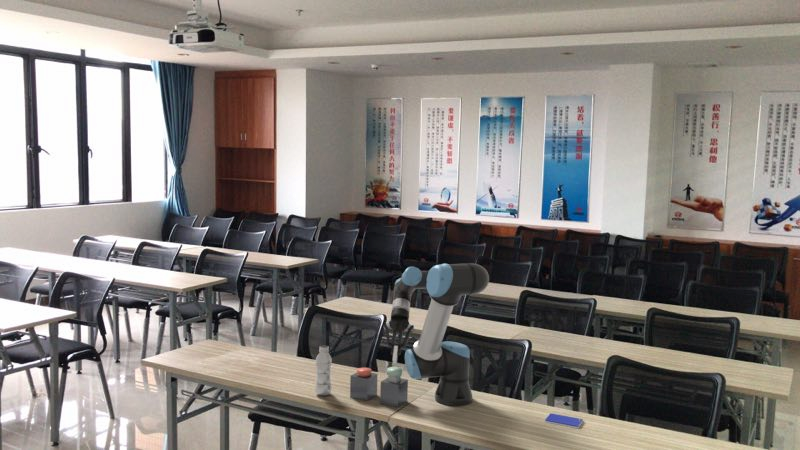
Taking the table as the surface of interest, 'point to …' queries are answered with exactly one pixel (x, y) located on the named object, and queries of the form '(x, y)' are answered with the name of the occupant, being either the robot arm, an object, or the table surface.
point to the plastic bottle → (323, 371)
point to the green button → (394, 374)
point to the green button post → (394, 393)
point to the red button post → (363, 387)
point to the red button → (364, 372)
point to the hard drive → (564, 420)
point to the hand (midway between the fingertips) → (394, 361)
